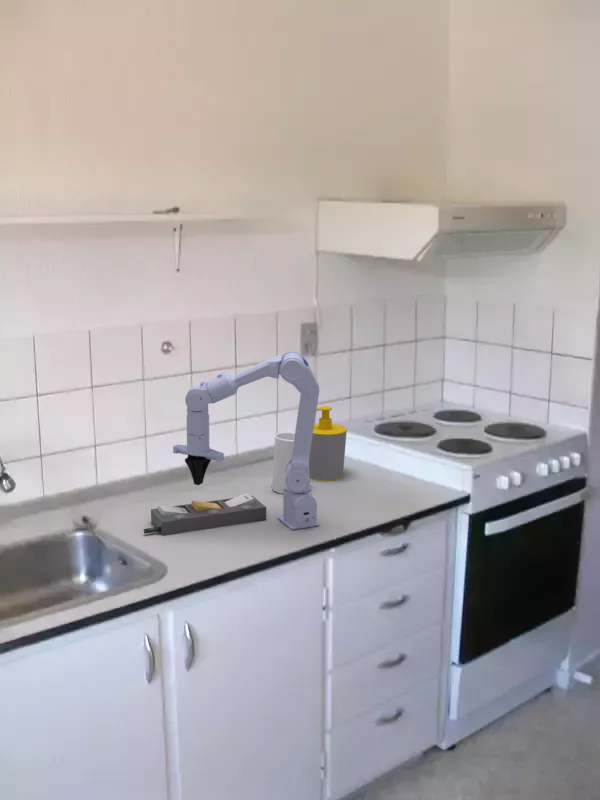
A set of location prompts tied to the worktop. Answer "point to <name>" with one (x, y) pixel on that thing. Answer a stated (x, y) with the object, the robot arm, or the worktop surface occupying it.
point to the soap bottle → (327, 449)
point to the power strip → (206, 517)
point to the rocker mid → (204, 506)
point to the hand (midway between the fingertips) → (198, 483)
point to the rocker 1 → (171, 510)
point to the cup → (281, 459)
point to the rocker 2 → (240, 500)
